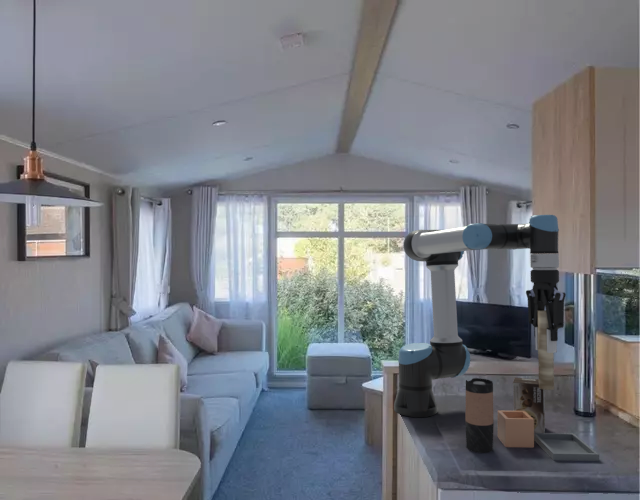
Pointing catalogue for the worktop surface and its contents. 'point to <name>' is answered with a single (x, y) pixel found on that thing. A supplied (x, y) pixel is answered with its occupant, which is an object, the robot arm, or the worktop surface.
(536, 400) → the coffee box
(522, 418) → the pot
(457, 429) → the worktop surface
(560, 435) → the tray
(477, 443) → the travel mug
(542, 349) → the dowel
